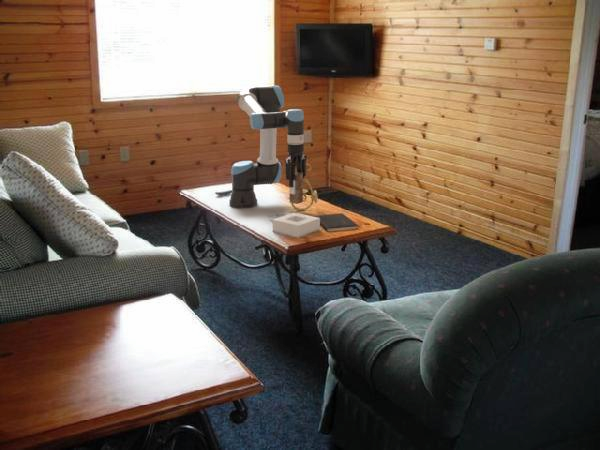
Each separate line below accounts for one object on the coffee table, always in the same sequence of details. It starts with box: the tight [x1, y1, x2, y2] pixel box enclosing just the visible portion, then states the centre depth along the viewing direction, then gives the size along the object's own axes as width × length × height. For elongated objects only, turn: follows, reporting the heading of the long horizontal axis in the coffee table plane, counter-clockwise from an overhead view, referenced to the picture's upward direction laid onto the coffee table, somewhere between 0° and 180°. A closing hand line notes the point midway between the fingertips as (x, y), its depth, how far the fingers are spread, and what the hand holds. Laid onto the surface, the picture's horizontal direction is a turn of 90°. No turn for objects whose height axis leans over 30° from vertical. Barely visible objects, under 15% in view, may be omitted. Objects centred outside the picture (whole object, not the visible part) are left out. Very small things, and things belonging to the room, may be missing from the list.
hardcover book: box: [312, 213, 359, 233], centre depth 346 cm, size 16×23×2 cm
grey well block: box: [272, 212, 321, 239], centre depth 334 cm, size 16×16×6 cm
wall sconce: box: [290, 163, 318, 211], centre depth 368 cm, size 14×10×25 cm
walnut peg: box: [289, 171, 304, 205], centre depth 329 cm, size 4×4×14 cm
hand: (296, 192), depth 330 cm, fingers closed on walnut peg, 4 cm apart
